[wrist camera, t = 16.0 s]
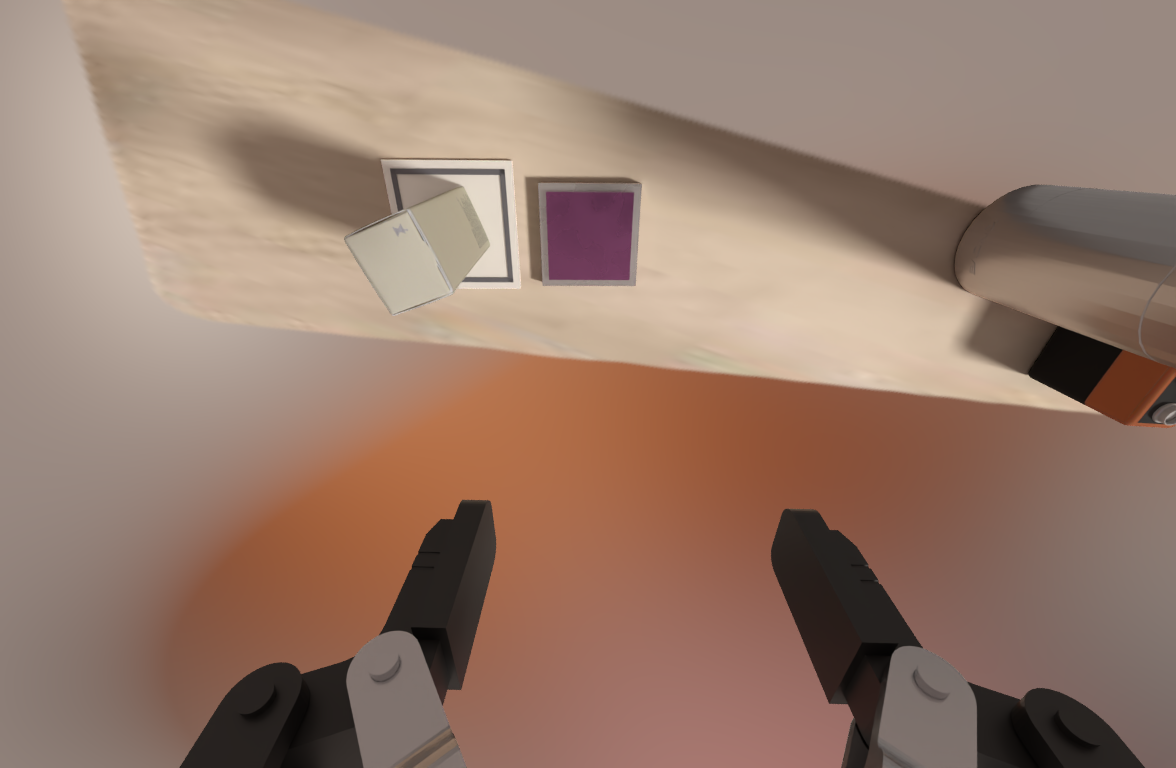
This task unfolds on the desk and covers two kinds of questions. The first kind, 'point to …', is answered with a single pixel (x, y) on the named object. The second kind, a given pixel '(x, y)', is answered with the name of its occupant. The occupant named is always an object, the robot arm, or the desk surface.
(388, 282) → the box
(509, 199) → the paper
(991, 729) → the robot arm
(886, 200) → the desk surface
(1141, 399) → the battery
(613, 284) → the ink pad
